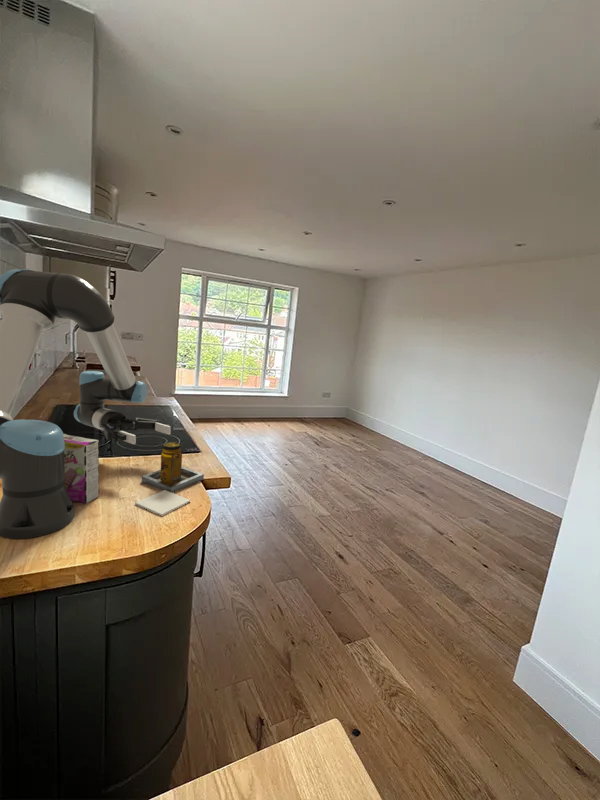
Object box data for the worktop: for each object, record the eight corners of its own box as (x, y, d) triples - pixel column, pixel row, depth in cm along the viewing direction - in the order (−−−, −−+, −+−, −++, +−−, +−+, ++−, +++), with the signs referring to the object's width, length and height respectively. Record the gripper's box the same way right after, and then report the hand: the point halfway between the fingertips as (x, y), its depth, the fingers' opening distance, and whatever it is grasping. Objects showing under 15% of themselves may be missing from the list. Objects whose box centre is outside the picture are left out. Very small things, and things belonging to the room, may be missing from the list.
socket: (171, 493, 107) (171, 487, 107) (141, 481, 112) (141, 476, 112) (203, 479, 119) (203, 474, 118) (175, 469, 124) (175, 464, 124)
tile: (161, 516, 94) (161, 514, 94) (135, 504, 99) (135, 502, 99) (190, 502, 103) (190, 500, 103) (164, 491, 108) (164, 489, 108)
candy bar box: (48, 497, 98) (47, 438, 95) (64, 490, 103) (62, 433, 100) (86, 505, 96) (85, 444, 93) (99, 497, 101) (99, 439, 98)
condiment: (154, 481, 114) (155, 443, 112) (176, 473, 121) (178, 438, 119) (169, 488, 110) (170, 450, 108) (192, 480, 117) (193, 444, 115)
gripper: (140, 424, 139) (182, 437, 130) (73, 439, 118) (117, 456, 108) (140, 405, 138) (182, 416, 128) (73, 416, 116) (117, 432, 107)
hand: (153, 435), depth 118 cm, fingers open, 13 cm apart
